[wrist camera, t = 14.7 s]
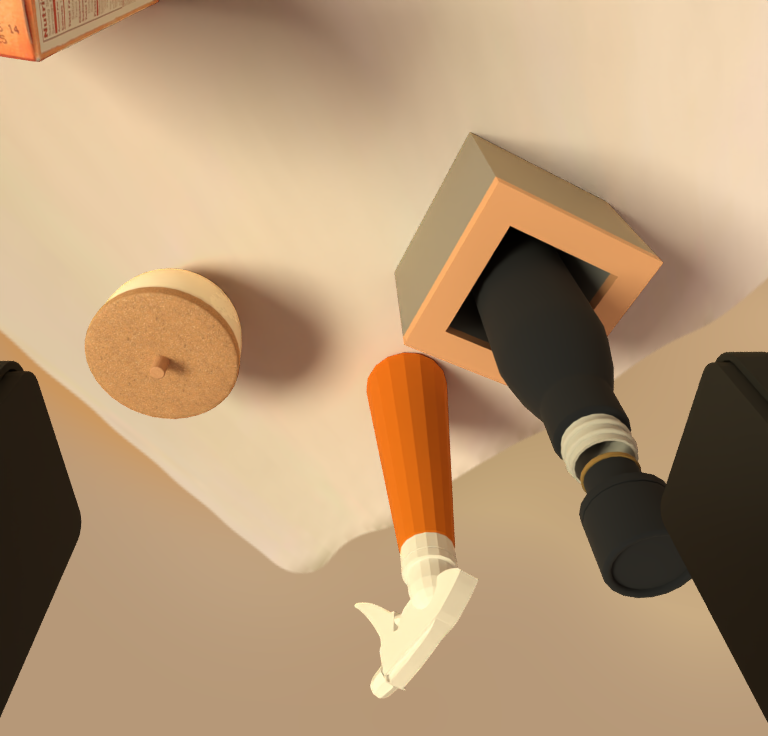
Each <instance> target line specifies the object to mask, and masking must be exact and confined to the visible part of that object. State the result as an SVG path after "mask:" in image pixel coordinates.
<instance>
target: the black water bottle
mask: <svg viewBox="0 0 768 736" xmlns="http://www.w3.org/2000/svg"><path fill="white" fill-rule="evenodd" d="M471 290H472V293H473V296H474V299H475V302H476V305H477V308H478V311H479V314H480V317H481V320H482V323H483V326H484V329H485V332H486V335H487V338H488V341H489V344H490V347H491V350H492V353H493V356H494V359H495V362H496V365H497V368H498V370H499V373H500V375H501V377H502V378H503V380H504V381H505V383H506V384H507V386H508V387H509V388H510V389H511V391H512V392H513V393H514V394H515V396H516V397H517V398H518V399H519V400H520V402H521V403H522V404H523V405H524V406H525V407H526V408H527V409H528V410H529V411H530V412H532V413H533V414H534V415H535V416H536V417H537V418H539V419H540V420H541V421H542V422H543V423H544V425H545V428H546V430H547V433H548V435H549V438H550V440H551V443H552V446H553V448H554V451H555V452H556V453H557V454H558V456H559V457H560V458H561V459H562V460H563V461H564V462H565V464H566V468H567V471H568V472H569V473H570V474H571V476H572V477H573V478H575V479H576V480H577V481H578V483H580V484H581V485H582V487H583V489H584V491H585V492H586V493H587V495H586V497H585V498H584V500H583V501H582V503H581V507H580V513H579V515H580V519H581V522H582V525H583V528H584V530H585V533H586V536H587V538H588V541H589V543H590V546H591V548H592V551H593V554H594V556H595V558H596V561H597V564H598V566H599V569H600V572H601V574H602V577H603V579H604V582H605V583H606V584H607V585H608V586H609V587H610V588H611V589H612V590H613V591H615V592H617V593H619V594H621V595H623V596H630V597H635V598H645V597H654V596H658V595H662V594H666V593H669V592H671V591H673V590H675V589H677V588H679V587H681V586H682V585H684V584H685V583H686V582H688V581H689V580H690V579H692V577H691V575H690V573H689V572H688V570H687V568H686V566H685V564H684V562H683V560H682V558H681V556H680V554H679V553H678V551H677V549H676V547H675V545H674V543H673V541H672V539H671V537H670V535H669V533H668V532H667V530H666V528H665V526H664V523H663V521H662V517H661V509H660V508H661V499H662V496H663V493H664V490H665V487H666V483H665V482H664V481H663V480H662V479H660V478H658V477H656V476H655V475H652V474H647V473H642V472H641V467H640V465H639V463H638V454H637V453H638V449H637V444H636V441H635V440H634V438H633V437H632V435H631V427H630V422H629V419H628V417H627V415H626V414H625V412H624V410H623V408H622V406H621V405H620V403H619V401H618V400H617V398H616V396H615V394H614V392H613V390H614V389H613V388H614V367H613V362H612V357H611V352H610V347H609V342H608V338H607V335H606V331H605V328H604V325H603V324H602V322H601V321H600V319H599V317H598V316H597V314H596V313H595V311H594V310H593V308H592V306H591V305H590V303H589V302H588V300H587V299H586V297H585V296H584V294H583V292H582V291H581V289H580V288H579V286H578V285H577V283H576V281H575V280H574V278H573V277H572V275H571V274H570V272H569V270H568V269H567V267H566V266H565V264H564V263H563V261H562V259H561V258H560V256H559V255H558V253H557V252H556V250H555V248H554V247H553V246H552V245H550V244H547V243H545V242H543V241H541V240H539V239H537V238H535V237H533V236H531V235H528V234H526V233H524V232H522V231H520V230H518V229H516V228H514V227H512V226H510V227H509V228H508V230H507V232H506V233H505V235H504V237H503V238H502V240H501V241H500V243H499V245H498V246H497V248H496V250H495V251H494V253H493V255H492V256H491V258H490V259H489V261H488V263H487V264H486V266H485V268H484V269H483V271H482V273H481V274H480V276H479V277H478V279H477V281H476V282H475V284H474V286H473V287H472V289H471Z"/></svg>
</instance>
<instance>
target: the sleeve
mask: <svg viewBox="0 0 768 736" xmlns="http://www.w3.org/2000/svg"><path fill="white" fill-rule="evenodd" d="M510 226H512V227H514V228H516V229H518V230H520V231H522V232H524V233H526V234H528V235H531V236H533V237H535V238H537V239H539V240H541V241H543V242H545V243H547V244H550V245H552V246H554V248H555V250H556V252H557V253H558V255H559V256H560V258H561V259H562V261H563V263H564V264H565V266H566V267H567V269H568V270H569V272H570V274H571V275H572V277H573V278H574V280H575V281H576V283H577V285H578V286H579V288H580V289H581V291H582V292H583V294H584V296H585V297H586V299H587V300H588V302H589V303H590V305H591V306H592V308H593V310H594V311H595V313H596V314H597V316H598V317H599V319H600V321H601V322H602V324H603V325H604V328H605V331H606V335H607V336H608V335H609V334H610V332H611V331H612V330H613V328H614V327H615V326H616V324H617V323H618V322H619V320H620V319H621V318H622V316H623V315H624V314H625V312H626V311H627V310H628V308H629V307H630V306H631V305H632V303H633V302H634V301H635V299H636V298H637V297H638V295H639V294H640V293H641V291H642V290H643V289H644V287H645V286H646V285H647V283H648V282H649V281H650V280H651V278H652V277H653V276H654V274H655V273H656V272H657V270H658V269H659V268H660V266H661V265H662V264H663V262H662V261H661V260H660V259H659V258H658V256H657V255H656V254H655V253H654V252H653V251H652V250H651V249H650V248H649V247H648V246H647V245H646V244H645V243H644V241H643V240H642V239H641V238H640V237H639V236H638V235H637V234H636V233H635V232H634V231H633V230H632V229H631V227H630V226H629V225H628V224H627V223H626V222H625V221H624V220H623V219H622V218H621V217H620V216H619V215H618V214H617V212H616V211H615V210H614V209H613V208H612V207H611V206H610V205H609V204H608V203H607V202H606V201H604V200H602V199H600V198H598V197H596V196H594V195H592V194H590V193H588V192H586V191H584V190H582V189H580V188H578V187H577V186H575V185H573V184H571V183H569V182H567V181H565V180H563V179H561V178H559V177H557V176H555V175H553V174H551V173H549V172H547V171H545V170H543V169H541V168H539V167H537V166H535V165H533V164H531V163H529V162H527V161H526V160H524V159H522V158H520V157H518V156H516V155H514V154H512V153H510V152H508V151H506V150H504V149H502V148H500V147H498V146H496V145H494V144H492V143H490V142H488V141H486V140H484V139H482V138H480V137H478V136H476V135H475V134H473V133H471V132H470V133H469V135H468V137H467V139H466V140H465V142H464V144H463V146H462V148H461V150H460V152H459V153H458V155H457V157H456V159H455V161H454V163H453V165H452V166H451V168H450V170H449V172H448V174H447V176H446V178H445V179H444V181H443V183H442V185H441V187H440V189H439V191H438V192H437V194H436V196H435V198H434V200H433V202H432V204H431V206H430V207H429V209H428V211H427V213H426V215H425V217H424V219H423V220H422V222H421V224H420V226H419V228H418V230H417V232H416V233H415V235H414V237H413V239H412V241H411V243H410V245H409V246H408V248H407V250H406V252H405V254H404V256H403V258H402V260H401V261H400V263H399V265H398V267H397V269H396V271H395V280H396V288H397V295H398V302H399V310H400V317H401V325H402V332H403V340H404V345H406V346H409V347H411V348H414V349H416V350H419V351H421V352H424V353H426V354H429V355H431V356H434V357H436V358H439V359H441V360H444V361H446V362H449V363H451V364H454V365H457V366H459V367H462V368H464V369H467V370H469V371H472V372H474V373H477V374H479V375H482V376H484V377H487V378H489V379H492V380H494V381H497V382H499V383H502V384H504V385H507V384H506V383H505V381H504V380H503V378H502V377H501V375H500V373H499V370H498V368H497V365H496V362H495V359H494V356H493V353H492V350H491V347H490V344H489V341H488V338H487V335H486V332H485V329H484V326H483V323H482V320H481V317H480V314H479V311H478V308H477V305H476V302H475V299H474V296H473V293H472V290H471V289H472V287H473V286H474V284H475V282H476V281H477V279H478V277H479V276H480V274H481V273H482V271H483V269H484V268H485V266H486V264H487V263H488V261H489V259H490V258H491V256H492V255H493V253H494V251H495V250H496V248H497V246H498V245H499V243H500V241H501V240H502V238H503V237H504V235H505V233H506V232H507V230H508V228H509V227H510Z"/></svg>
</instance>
